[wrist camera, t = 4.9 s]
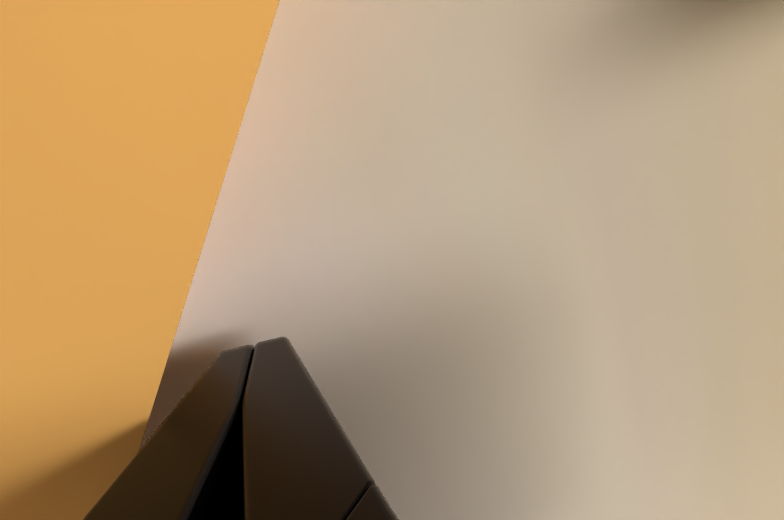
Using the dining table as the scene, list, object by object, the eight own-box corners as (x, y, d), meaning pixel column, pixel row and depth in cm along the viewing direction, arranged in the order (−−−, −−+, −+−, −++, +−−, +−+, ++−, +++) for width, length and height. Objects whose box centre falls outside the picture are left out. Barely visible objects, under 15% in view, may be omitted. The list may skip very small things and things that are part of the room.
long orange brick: (-48, -437, 6) (-263, -638, 4) (343, -234, 7) (369, -289, 5) (-129, 507, 11) (-241, 673, 8) (105, 541, 12) (62, 697, 10)
